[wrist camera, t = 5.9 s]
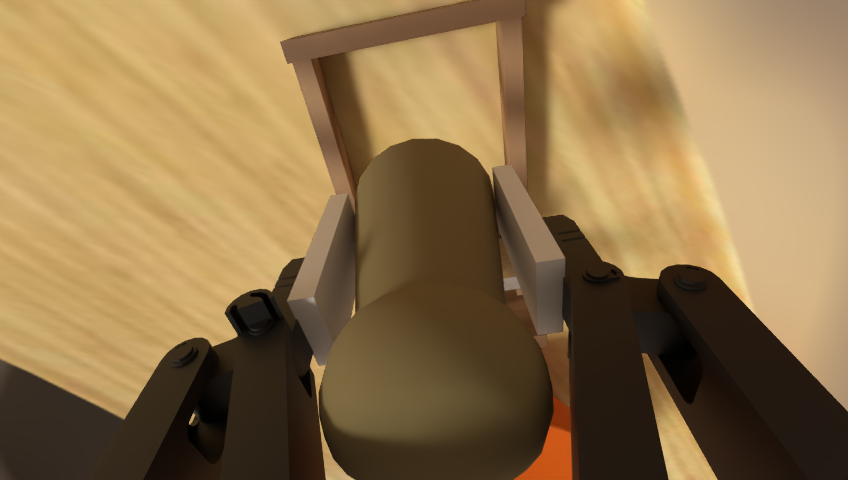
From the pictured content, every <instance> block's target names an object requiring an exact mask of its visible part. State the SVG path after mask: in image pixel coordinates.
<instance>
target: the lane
mask: <svg viewBox="0 0 848 480" xmlns="http://www.w3.org/2000/svg"><path fill="white" fill-rule="evenodd" d="M522 16H526V11H525V0H471V1H466V2H461V3H457V4H452V5H447V6H442V7H437V8H432V9H428V10H423V11H418V12H413V13H408V14H404V15H399V16H394V17H389V18H384V19H379V20H375V21H370V22H365V23H360V24H355V25H350V26H346V27H341V28H336V29H331V30H326V31H322V32H317V33H312V34H307V35H302V36H297V37H293V38H290V39H287V40H284V41H282V42H280V43H281V46H282V49H283V52H284V55H285V58H286V61H287V64H289V63H293V66H294V69H295V72H296V75H297V78H298V81H299V84H300V87H301V90H302V93H303V96H304V99H305V102H306V105H307V108H308V111H309V114H310V117H311V120H312V123H313V126H314V129H315V132H316V135H317V138H318V141H319V144H320V147H321V150H322V153H323V156H324V159H325V162H326V165H327V168H328V171H329V174H330V177H331V180H332V183H333V186H334V189H335V192H336V195H338V194H343V193H348V194H349V198H350V201H351V204H352V207H353V210H354V214H355V195H356V191H357V186H356V183H355V180H354V176H353V173H352V170H351V166H350V163H349V160H348V156H347V153H346V149H345V146H344V143H343V139H342V136H341V133H340V129H339V126H338V123H337V119H336V116H335V113H334V109H333V106H332V102H331V99H330V96H329V92H328V89H327V86H326V82H325V79H324V76H323V72H322V69H321V66H320V62H319V59H318V58H319V57H324V56H329V55H334V54H339V53H344V52H349V51H353V50H358V49H363V48H368V47H373V46H378V45H383V44H388V43H393V42H398V41H403V40H408V39H413V38H418V37H423V36H428V35H433V34H437V33H442V32H447V31H452V30H457V29H462V28H467V27H472V26H477V25H482V24H487V23H492V22H496V33H497V48H498V63H499V79H500V94H501V109H502V125H503V140H504V155H505V165H510V164H511V165H512V167H513V169H514V170H515V172H516V174H517V176H518V177H519V179H520V181H521V183H522V184H523V186H524V188H525V189H526V191H527V166H526V136H525V106H524V75H523V45H522ZM505 299H506V305H507V306H509V307H510V308H511V309H512V310H513V312H514V313H515V314H516V315H517V316H518V318H519V319H520V320H521V321H522V323H523V324H524V325H525V326H526V327H527V329H528V330H529V331H530V333H531V334H532V335H533V337H534V338H535V339H536V341H537V342H538V343H539V346H540V348H545V347H547V334H542V335H537V332H536V329H535V327H534V324H533V321H532V318H531V316H530V313H529V310H528V308H527V305H526V302H525V299H524V297H523V294H522V291H521V288H519V289H513V290H506V291H505Z"/></svg>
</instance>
